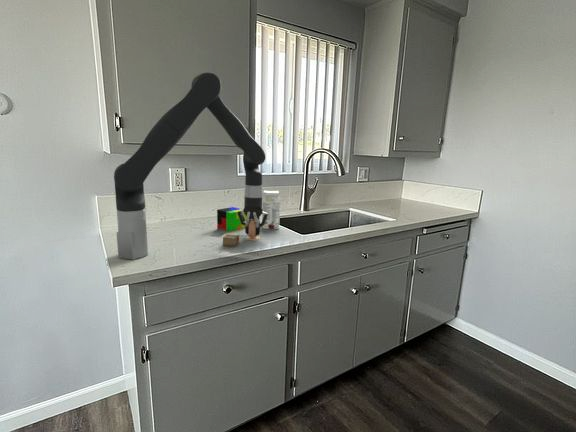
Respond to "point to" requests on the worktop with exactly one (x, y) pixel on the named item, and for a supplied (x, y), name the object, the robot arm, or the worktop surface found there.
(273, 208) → the white supplement bottle
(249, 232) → the pawn
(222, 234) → the track
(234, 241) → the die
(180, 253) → the worktop surface
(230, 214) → the puzzle toy
